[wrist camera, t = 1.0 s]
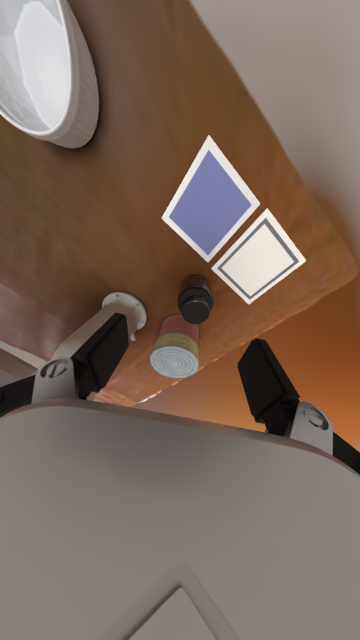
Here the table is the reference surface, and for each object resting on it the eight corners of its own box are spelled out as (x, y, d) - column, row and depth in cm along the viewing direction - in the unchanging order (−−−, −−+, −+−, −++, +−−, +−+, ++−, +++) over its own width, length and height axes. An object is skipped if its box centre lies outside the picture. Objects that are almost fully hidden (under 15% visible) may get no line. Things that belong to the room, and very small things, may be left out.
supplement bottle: (206, 302, 34) (210, 332, 25) (180, 298, 35) (173, 326, 25) (213, 275, 31) (220, 298, 21) (183, 271, 31) (176, 291, 21)
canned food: (154, 331, 42) (141, 363, 32) (176, 307, 36) (167, 337, 27) (182, 349, 45) (178, 383, 35) (206, 330, 40) (209, 364, 30)
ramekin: (5, 100, 20) (-72, 49, 14) (8, -80, 14) (-130, -305, 8) (90, 181, 24) (57, 167, 18) (124, 71, 18) (89, -4, 12)
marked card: (305, 260, 27) (306, 260, 27) (248, 303, 33) (248, 304, 33) (266, 208, 23) (267, 208, 23) (210, 268, 30) (211, 268, 29)
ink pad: (258, 204, 23) (260, 203, 22) (207, 261, 29) (208, 262, 28) (208, 138, 20) (208, 134, 19) (162, 218, 26) (161, 218, 25)
